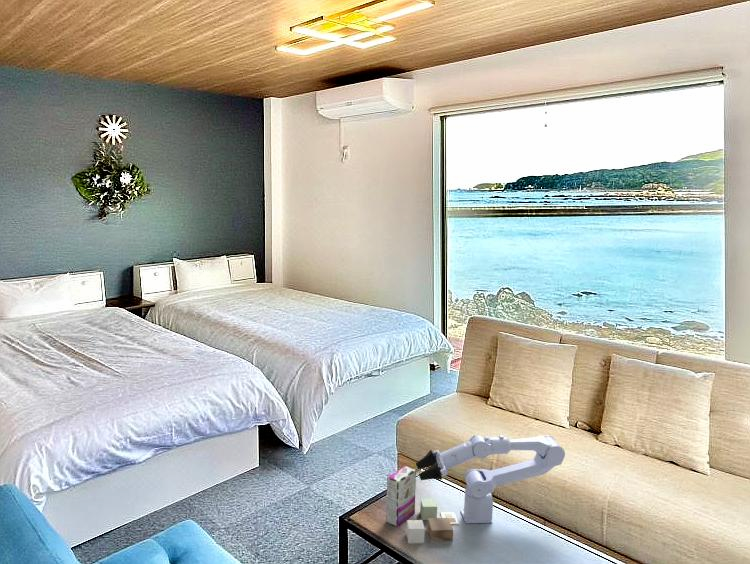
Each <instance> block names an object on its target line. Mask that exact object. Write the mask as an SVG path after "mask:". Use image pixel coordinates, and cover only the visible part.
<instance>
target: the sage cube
mask: <svg viewBox="0 0 750 564" xmlns="http://www.w3.org/2000/svg"><path fill="white" fill-rule="evenodd" d="M419 505H420V507H419V513H420V517H421V520H422V521H428V518H438V505H437V503H436V499H435V498H420V502H419Z"/></svg>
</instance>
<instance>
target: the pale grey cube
mask: <svg viewBox="0 0 750 564" xmlns="http://www.w3.org/2000/svg"><path fill="white" fill-rule="evenodd" d="M423 521H424V520H422V519H406V538H407V543H408V544H425V528H426V527H425V526H424V522H423Z"/></svg>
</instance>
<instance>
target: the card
mask: <svg viewBox="0 0 750 564" xmlns="http://www.w3.org/2000/svg"><path fill="white" fill-rule="evenodd" d="M439 513H440V518H449V520H450V523H451V525H453V526H454V525H455V526H456V525H459V522H458V519H457V516H456V513H455V511H447V512H446V511H444V512H443V511H441V512H439ZM459 526H460V525H459Z"/></svg>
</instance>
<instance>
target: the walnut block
mask: <svg viewBox="0 0 750 564" xmlns="http://www.w3.org/2000/svg"><path fill="white" fill-rule="evenodd" d="M426 530H427V531H428V535H429V538H430V541H431V542H450V541H451V542H452V541H454V538H453V537H454V529H453V526H452V525H451V523H450V520H449V518H442V517H437V518H428V520H427V529H426Z"/></svg>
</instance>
